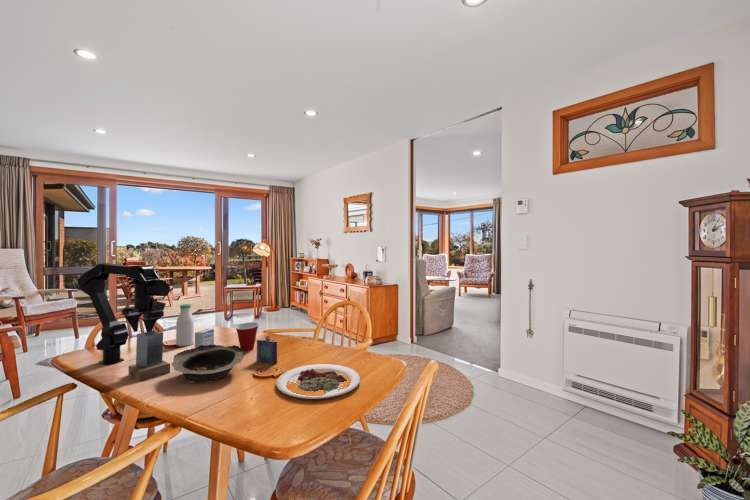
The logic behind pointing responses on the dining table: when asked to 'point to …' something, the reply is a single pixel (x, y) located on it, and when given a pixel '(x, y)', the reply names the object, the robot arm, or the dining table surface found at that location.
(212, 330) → the medicine box
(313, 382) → the plated food
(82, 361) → the dining table surface
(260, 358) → the flask
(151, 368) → the walnut block
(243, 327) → the plastic cup
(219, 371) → the stone bowl
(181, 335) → the milk bottle
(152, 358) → the slate tin
